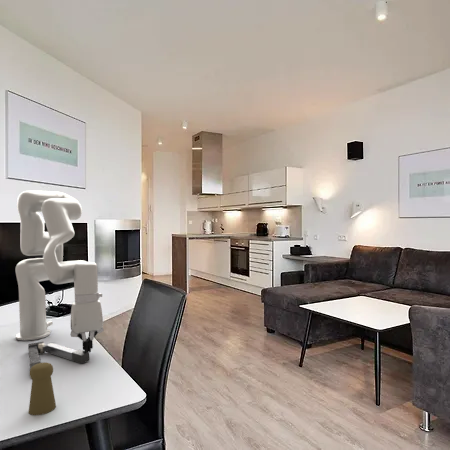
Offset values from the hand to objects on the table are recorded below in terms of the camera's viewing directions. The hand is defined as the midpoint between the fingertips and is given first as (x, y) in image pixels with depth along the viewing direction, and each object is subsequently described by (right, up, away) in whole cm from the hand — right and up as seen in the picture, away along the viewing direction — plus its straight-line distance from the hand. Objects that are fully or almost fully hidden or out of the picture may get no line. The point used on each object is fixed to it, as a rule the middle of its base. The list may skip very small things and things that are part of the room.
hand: (87, 351), depth 125 cm
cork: (+2, -2, -36) cm, 36 cm away
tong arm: (-8, -1, -2) cm, 8 cm away
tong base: (-14, -2, -6) cm, 15 cm away
